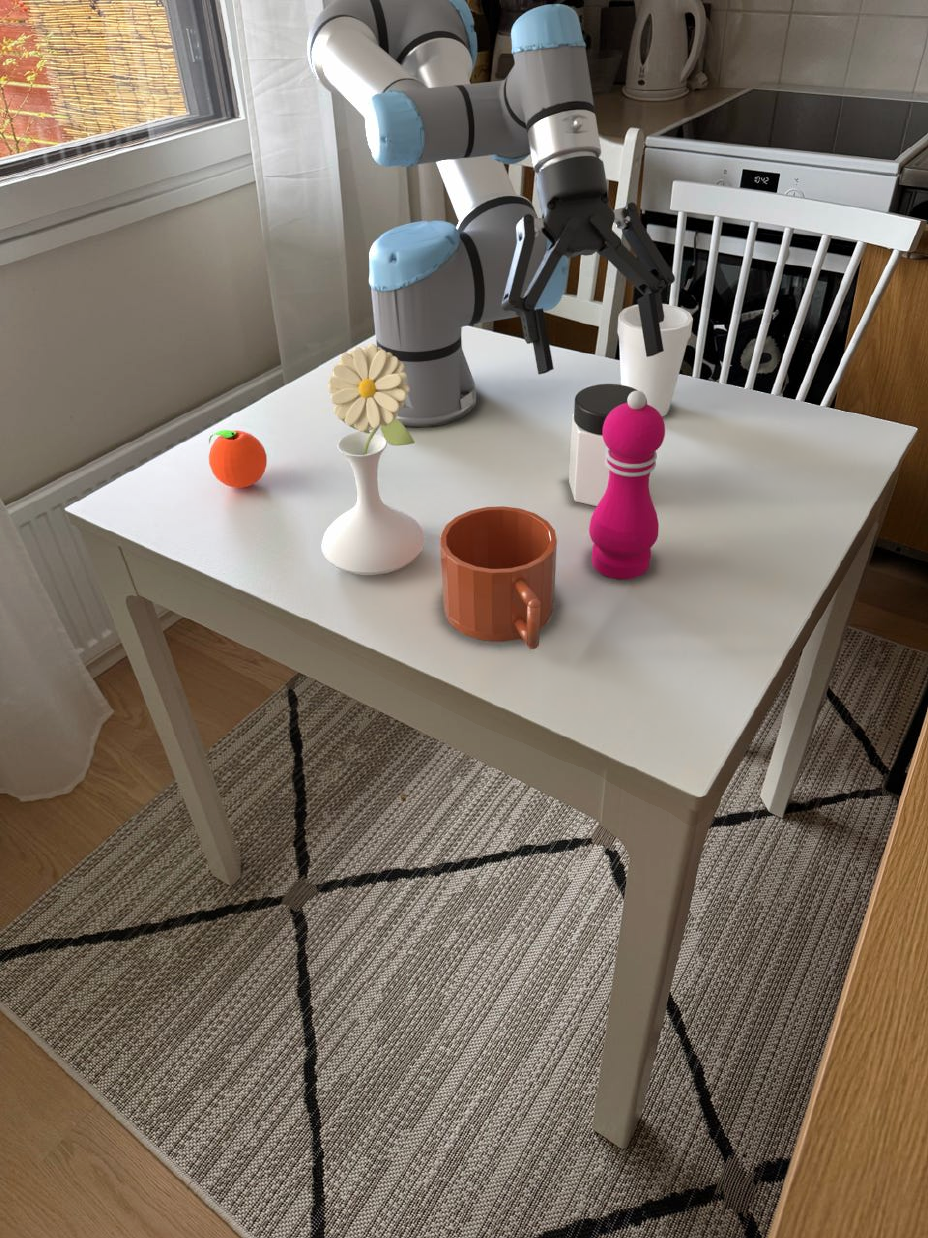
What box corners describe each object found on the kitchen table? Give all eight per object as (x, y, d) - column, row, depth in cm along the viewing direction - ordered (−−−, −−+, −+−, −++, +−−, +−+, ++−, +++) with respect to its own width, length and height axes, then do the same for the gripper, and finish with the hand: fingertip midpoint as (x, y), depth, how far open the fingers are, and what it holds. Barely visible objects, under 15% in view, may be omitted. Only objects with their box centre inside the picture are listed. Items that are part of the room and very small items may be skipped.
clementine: (196, 487, 113) (184, 436, 108) (234, 462, 117) (223, 412, 113) (246, 504, 110) (234, 451, 105) (282, 477, 114) (273, 426, 110)
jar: (596, 517, 105) (604, 423, 97) (553, 487, 110) (557, 396, 103) (654, 493, 109) (665, 401, 101) (610, 465, 114) (617, 375, 106)
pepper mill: (640, 590, 94) (661, 415, 82) (576, 571, 97) (587, 399, 84) (663, 554, 99) (687, 383, 86) (602, 537, 102) (616, 369, 89)
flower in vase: (302, 557, 101) (264, 340, 85) (377, 514, 107) (355, 304, 91) (382, 605, 94) (358, 378, 78) (457, 556, 100) (449, 337, 84)
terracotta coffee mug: (429, 587, 96) (425, 520, 90) (527, 564, 98) (528, 497, 93) (479, 678, 85) (478, 607, 79) (588, 649, 88) (593, 578, 82)
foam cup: (624, 388, 131) (632, 299, 122) (687, 400, 127) (700, 308, 119) (602, 417, 124) (609, 324, 116) (668, 429, 121) (680, 335, 112)
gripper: (471, 162, 92) (509, 373, 95) (686, 142, 98) (716, 339, 101) (451, 190, 99) (487, 385, 102) (653, 169, 106) (681, 353, 108)
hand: (601, 363), depth 102 cm, fingers open, 13 cm apart
